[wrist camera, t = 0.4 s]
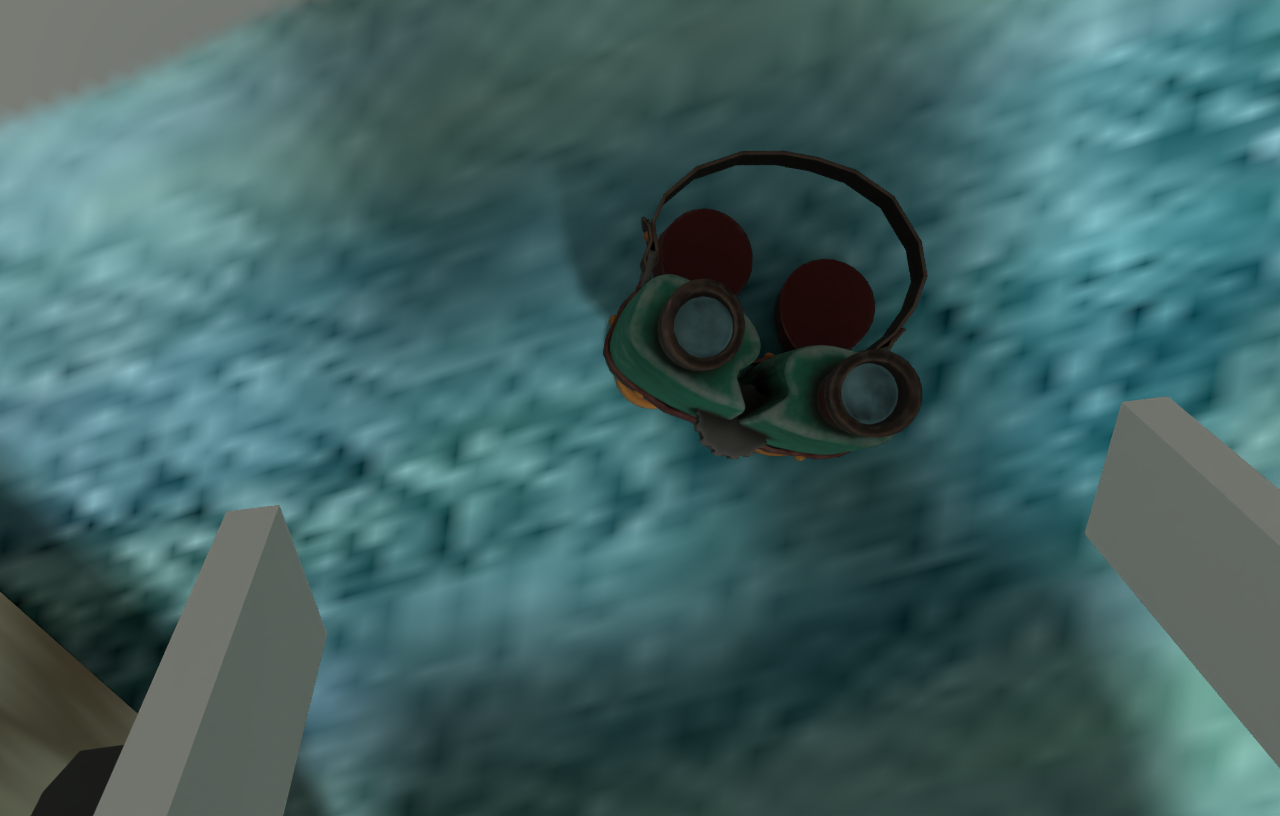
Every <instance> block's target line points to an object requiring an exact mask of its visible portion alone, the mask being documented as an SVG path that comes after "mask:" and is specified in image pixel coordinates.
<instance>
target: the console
mask: <svg viewBox="0 0 1280 816" xmlns="http://www.w3.org/2000/svg"><path fill="white" fill-rule="evenodd" d="M137 715H138V713H136V712H135V711H134V710H133V709H132V708H131V707H130V706H128V705H127V704H126V703H125V702H124V701H123V700H122V699H121V698H119V697H118V696H117V695H116V694H115V693H114V692H113V691H112V690H110V689H109V688H108V687H107V686H106V685H105V684H104V683H103V682H101V681H100V680H99V679H98V678H97V677H96V676H95V675H93V674H92V673H91V672H90V671H89V670H88V669H87V668H86V667H84V666H83V665H82V664H81V663H80V662H79V661H78V660H77V659H75V658H74V657H73V656H72V655H71V654H70V653H69V652H68V651H66V650H65V649H64V648H63V647H62V646H61V645H60V644H58V643H57V642H56V641H55V640H54V639H53V638H52V637H51V636H49V635H48V634H47V633H46V632H45V631H44V630H43V629H42V628H40V627H39V626H38V625H37V624H36V623H35V622H34V621H33V620H31V619H30V618H29V617H28V616H27V615H26V614H25V613H23V612H22V611H21V610H20V609H19V608H18V607H17V606H16V605H14V604H13V603H12V602H11V601H10V600H9V599H8V598H7V597H5V596H4V595H3V594H2V593H1V592H0V816H31V814H32V812H33V810H34V808H35V806H36V804H37V802H38V800H39V798H40V796H41V794H42V792H43V791H44V790H45V789H46V788H47V787H48V786H49V784H50V783H51V782H52V781H53V780H54V779H55V778H56V777H57V776H58V775H59V773H60V772H61V771H62V770H63V769H64V768H65V767H66V766H67V765H68V763H69V762H70V761H71V760H72V759H73V758H74V757H75V756H76V755H77V753H78V752H79V751H81V750H89V749H96V748H103V747H110V746H118V745H124V744H125V742H126V740H127V738H128V735H129V733H130V731H131V729H132V726H133V724H134V722H135V719H136V717H137Z"/></svg>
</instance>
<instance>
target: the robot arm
mask: <svg viewBox="0 0 1280 816" xmlns="http://www.w3.org/2000/svg"><path fill="white" fill-rule="evenodd" d="M1085 535H1086V536H1087V537H1088V539H1089V540H1090V541H1091V542H1092V543H1093V545H1094V546H1095V547H1096V548H1097V549H1098V551H1099V552H1100V553H1101V554H1102V555H1103V557H1104V558H1105V559H1106V560H1107V561H1108V563H1109V564H1110V565H1111V566H1112V567H1113V569H1114V570H1115V571H1116V572H1117V573H1118V575H1119V576H1120V577H1121V578H1122V579H1123V581H1124V582H1125V583H1126V584H1127V585H1128V587H1129V588H1130V589H1131V590H1132V591H1133V593H1134V594H1135V595H1136V596H1137V597H1138V599H1139V600H1140V601H1141V602H1142V603H1143V605H1144V606H1145V607H1146V608H1147V609H1148V611H1149V612H1150V613H1151V614H1152V615H1153V617H1154V618H1155V619H1156V620H1157V621H1158V623H1159V624H1160V625H1161V626H1162V627H1163V629H1164V630H1165V631H1166V632H1167V633H1168V635H1169V636H1170V637H1171V638H1172V639H1173V641H1174V642H1175V643H1176V644H1177V645H1178V647H1179V648H1180V649H1181V650H1182V651H1183V653H1184V654H1185V655H1186V656H1187V657H1188V659H1189V660H1190V661H1191V662H1192V663H1193V665H1194V666H1195V667H1196V668H1197V669H1198V671H1199V672H1200V673H1201V674H1202V675H1203V677H1204V678H1205V679H1206V680H1207V681H1208V683H1209V684H1210V685H1211V686H1212V687H1213V689H1214V690H1215V691H1216V692H1217V693H1218V695H1219V696H1220V697H1221V698H1222V699H1223V701H1224V702H1225V703H1226V704H1227V705H1228V707H1229V708H1230V709H1231V710H1232V711H1233V713H1234V714H1235V715H1236V716H1237V717H1238V719H1239V720H1240V721H1241V722H1242V723H1243V725H1244V726H1245V727H1246V728H1247V729H1248V731H1249V732H1250V733H1251V734H1252V735H1253V737H1254V738H1255V739H1256V740H1257V741H1258V743H1259V744H1260V745H1261V746H1262V747H1263V749H1264V750H1265V751H1266V752H1267V753H1268V755H1269V756H1270V757H1271V758H1272V759H1273V761H1274V762H1275V763H1276V764H1277V765H1278V767H1279V768H1280V490H1279V489H1278V488H1277V487H1276V486H1274V485H1273V484H1272V483H1271V482H1270V481H1268V480H1267V479H1266V478H1265V477H1264V476H1262V475H1261V474H1260V473H1259V472H1258V471H1256V470H1255V469H1254V468H1253V467H1252V466H1250V465H1249V464H1248V463H1247V462H1246V461H1244V460H1243V459H1242V458H1241V457H1240V456H1238V455H1237V454H1236V453H1235V452H1234V451H1232V450H1231V449H1230V448H1229V447H1228V446H1227V445H1225V444H1224V443H1223V442H1222V441H1221V440H1219V439H1218V438H1217V437H1216V436H1215V435H1213V434H1212V433H1211V432H1210V431H1209V430H1207V429H1206V428H1205V427H1204V426H1203V425H1201V424H1200V423H1199V422H1198V421H1197V420H1195V419H1194V418H1193V417H1192V416H1191V415H1189V414H1188V413H1187V412H1186V411H1185V410H1183V409H1182V408H1181V407H1180V406H1179V405H1177V404H1176V403H1175V402H1174V401H1173V400H1172V399H1170V398H1169V397H1160V398H1152V399H1143V400H1135V401H1127V402H1122V404H1121V407H1120V411H1119V414H1118V418H1117V422H1116V425H1115V429H1114V432H1113V436H1112V439H1111V443H1110V446H1109V450H1108V453H1107V457H1106V460H1105V464H1104V467H1103V471H1102V475H1101V478H1100V482H1099V485H1098V489H1097V492H1096V496H1095V499H1094V503H1093V506H1092V510H1091V513H1090V517H1089V520H1088V524H1087V527H1086V531H1085ZM326 637H327V633H326V630H325V627H324V625H323V622H322V619H321V616H320V614H319V611H318V608H317V606H316V603H315V600H314V598H313V595H312V592H311V589H310V587H309V584H308V581H307V579H306V576H305V573H304V571H303V568H302V565H301V562H300V560H299V557H298V554H297V552H296V549H295V546H294V543H293V541H292V538H291V535H290V533H289V530H288V527H287V525H286V522H285V519H284V516H283V514H282V511H281V508H280V506H279V505H276V506H268V507H259V508H251V509H243V510H235V511H227V512H226V514H225V516H224V519H223V521H222V523H221V525H220V528H219V530H218V532H217V535H216V537H215V539H214V541H213V544H212V546H211V548H210V551H209V553H208V555H207V557H206V560H205V562H204V564H203V566H202V569H201V571H200V573H199V576H198V578H197V580H196V582H195V585H194V587H193V589H192V592H191V594H190V596H189V598H188V601H187V603H186V605H185V608H184V610H183V612H182V614H181V617H180V619H179V621H178V624H177V626H176V628H175V630H174V633H173V635H172V637H171V640H170V642H169V644H168V646H167V649H166V651H165V653H164V655H163V658H162V660H161V662H160V665H159V667H158V669H157V671H156V674H155V676H154V678H153V681H152V683H151V685H150V687H149V690H148V692H147V694H146V697H145V699H144V701H143V703H142V706H141V708H140V710H139V713H138V715H137V717H136V719H135V722H134V724H133V726H132V729H131V731H130V733H129V735H128V738H127V740H126V742H125V744H124V745H118V746H110V747H103V748H96V749H89V750H81V751H79V752H78V753H77V755H76V756H75V757H74V758H73V759H72V760H71V761H70V762H69V763H68V765H67V766H66V767H65V768H64V769H63V770H62V771H61V772H60V773H59V775H58V776H57V777H56V778H55V779H54V780H53V781H52V782H51V783H50V784H49V786H48V787H47V788H46V789H45V790H44V791H43V792H42V794H41V796H40V798H39V800H38V802H37V804H36V806H35V808H34V810H33V812H32V814H31V816H283V815H284V811H285V807H286V802H287V798H288V794H289V790H290V786H291V782H292V778H293V773H294V769H295V765H296V761H297V757H298V753H299V748H300V744H301V740H302V736H303V732H304V728H305V724H306V719H307V715H308V711H309V707H310V703H311V699H312V695H313V690H314V686H315V682H316V678H317V674H318V670H319V666H320V661H321V657H322V653H323V649H324V645H325V641H326Z"/></svg>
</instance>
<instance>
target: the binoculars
mask: <svg viewBox="0 0 1280 816" xmlns="http://www.w3.org/2000/svg"><path fill="white" fill-rule="evenodd" d="M736 165H778V166H783V167H789V168H795V169H800V170H806V171H810V172H813V173H816V174H819V175H822V176H825V177H828V178H831V179H834V180H837V181H840V182H843V183H845V184H846V185H848V186H849V187H851V188H852V189H854V190H855V191H856V192H858V193H859V194H861V195H862V196H864V197H865V198H867V199H868V200H870V201H871V202H872V203H874V204H875V205H877V206H878V207H880V208H881V210H882V212H883V213H884V215H885V217H886V218H887V220H888V222H889V223H890V225H891V227H892V228H893V230H894V231H895V233H896V235H897V236H898V238H899V240H900V241H901V243H902V245H903V246H904V248H905V250H906V254H907V260H908V266H909V272H910V278H911V284H910V287H909V289H908V292H907V295H906V298H905V301H904V303H903V306H902V309H901V311H900V313H899V314H898V316H897V317H896V318H895V320H894V321H893V323H892V324H891V325H890V327H889V328H888V330H887V331H886V332H885V334H884V335H883V337H882V338H881V339H879V340H878V341H877V342H875V343H874V344H873V345H871V346H870V347H869V348H868V349H866V350H865V351H860V352H855V351H851V349H852V348H853V347H854V346H855V345H856V344H857V343H858V342H859V341H860V340H861V339H862V338H863V337H864V335H865V334H866V333H867V331H868V330H869V328H870V326H871V324H872V322H873V317H874V313H875V301H874V297H873V292H872V290H871V288H870V286H869V284H868V282H867V281H866V279H865V278H864V277H863V276H862V274H861V273H859V272H858V271H857V270H856V269H854V268H853V267H851V266H850V265H848V264H846V263H844V262H840V261H836V260H831V259H820V260H815V261H811V262H808V263H806V264H804V265H802V266H800V267H799V268H798V269H796V270H795V271H794V272H793V273H792V274H791V275H790V276H789V278H788V279H787V281H786V282H785V284H784V286H783V288H782V290H781V291H780V293H779V295H778V297H777V301H776V304H775V314H774V319H775V326H776V331H777V334H778V337H779V340H780V342H781V344H782V346H783V348H784V350H785V351H786V352H785V353H782V354H778V355H774V354H772V353H767V354H765V355H764V358H761V359H757V357H758V355H759V354H760V348H761V344H760V338H759V335H758V333H757V330H756V328H755V327H754V325H753V324H752V322H751V321H750V320H749V319H748V317H747V316H746V315H745V314H744V312H743V309H742V307H741V304H740V302H739V300H738V299H737V297H736V295H737V294H738V293H739V292H740V291H741V290H742V288H743V287H744V286H745V285H746V283H747V281H748V279H749V277H750V273H751V269H752V256H753V255H752V250H751V245H750V242H749V240H748V238H747V235H746V234H745V232H744V231H743V229H742V228H741V226H740V225H739V224H738V223H737V222H735V221H734V220H733V219H732V218H731V217H729V216H727V215H726V214H724V213H722V212H719V211H716V210H712V209H696V210H692V211H689V212H687V213H684V214H683V215H681V216H680V217H678V218H677V219H676V220H675V221H674V222H673V223H672V224H671V225H670V226H669V227H668V228H667V229H666V230H665V231H664V232H663V233H662V234H661V235H660V237H659V239H658V241H657V234H656V227H655V222H656V219H657V217H658V215H659V213H660V210H661V208H662V206H663V205H664V204H665V203H666V202H667V201H669V200H670V199H671V198H672V197H673V196H674V195H676V194H677V193H678V192H679V191H680V190H682V189H683V188H684V187H685V186H686V185H688V184H689V183H690V182H691V181H692V180H694V179H697V178H700V177H703V176H706V175H709V174H712V173H715V172H718V171H721V170H724V169H727V168H730V167H733V166H736ZM641 222H642V230H643V232H644V238H645V240H646V244H647V249H646V251H645V254H644V256H643V259H642V261H641V263H640V268H641V270H642V271H641V276H640V281H639V284H638V285H637V288H636V291H635V292H633V293H632V294H631V295H630V296H629V297H628V298H627V299H626V300H625V301H624V303H623V304H622V305H621V306H620V308H619V311H618V313H617V315H613V316H611V317H610V319H609V323H610V325H611V328H610V330H609V332H608V334H607V336H606V338H605V343H604V350H603V355H604V357H605V360H606V364H607V366H608V368H609V370H610V372H611V373H612V374H613V375H614V378H615V381H616V384H617V387H618V389H619V390H620V392H621V394H622V395H623V396H624V397H625V398H626V399H627V400H628V401H630V402H631V403H633V404H634V405H637V406H640V407H642V408H648V409H656V408H658V409H660V410H661V411H663V412H665V413H667V414H670V415H673V416H676V417H678V418H681V419H684V420H687V421H689V422H692V423H695V424H694V428H695V431H696V432H698V433H699V435H700V440H699V441H700V442H701V444H702V445H703V446H707V447H708V448H709V449H711V453H712V454H714V455H716V456H722V455H724V456H726V457H727V459H738V458H739V456H743V457H749V456H751V455H753V454H755V453H754V451H755V452H757V453H760V454H763V455H769V456H786V455H789V456H794V458H795V459H796V460H798V461H802V460H804V459H805V458H811V459H826V458H834V457H840V456H842V455H844V454H847V453H849V452H851V451H854V450H860V449H866V448H871V447H876V446H878V445H880V444H883V443H885V442H886V441H888V440H889V439H891V438H892V437H893V436H894V435H895V434H896V433H898V432H900V431H902V430H903V429H904V428H906V427H907V426H908V425H909V424H910V423H911V422H912V421H913V420H914V418H915V417H916V415H917V413H918V411H919V409H920V406H921V401H922V387H921V383H920V379H919V377H918V375H917V373H916V371H915V369H914V368H913V367H912V366H911V365H910V364H909V362H908V361H906V360H905V359H903V358H902V357H901V356H899V355H897V354H895V353H893V352H890V350H891V348H892V346H893V344H894V342H895V341H897V339H898V338H899V337H900V336H901V335H902V333H903V332H905V331H906V329H905V328H902V327H903V325H904V324H905V323H906V321H907V320H908V318H909V317H910V316H911V314H912V313H913V311H914V310H915V308H916V307H917V304H918V301H919V298H920V296H921V293H922V290H923V287H924V284H925V281H926V278H927V270H926V264H925V258H924V252H923V246H922V241H921V240H920V238H919V236H918V235H917V233H916V231H915V230H914V228H913V226H912V225H911V223H910V221H909V220H908V218H907V216H906V215H905V213H904V212H903V210H902V208H901V207H900V205H899V203H898V202H897V200H896V198H895V197H894V196H893V195H892V194H890V193H889V192H887V191H886V190H884V189H883V188H881V187H880V186H879V185H877V184H876V183H874V182H873V181H871V180H870V179H868V178H867V177H866V176H864V175H863V174H861V173H860V172H858V171H857V170H855V169H852V168H849V167H846V166H843V165H840V164H837V163H834V162H831V161H828V160H825V159H822V158H819V157H814V156H809V155H803V154H798V153H792V152H787V151H741V152H738V153H735V154H732V155H729V156H726V157H723V158H720V159H717V160H714V161H711V162H708V163H705V164H702V165H699V166H696V167H695V168H694V169H693V170H692V171H691V172H689V173H688V174H687V175H686V176H685V177H683V178H682V179H681V180H680V181H679V182H677V183H676V184H675V185H674V186H673V187H672V188H670V189H669V190H668V191H667V192H666V193H664V195H663V197H662V199H661V202H660V204H659V206H658V208H657V211H656V213H655V215H654V217H653V220H652V222H651V223H650V221H649V220H648V219H646V218H645V217H642V218H641ZM650 250H651V251H650ZM649 251H650V252H649ZM652 271H653V278H652V279H651V275H652ZM751 365H754V366H752V367H750V368H748V369H747V370H745V371H744V372H743V373H741V375H740V377H739V379H738V380H737V377H738V374H739V372H740V371H742V370H744V369H745V368H747V367H748V366H751Z"/></svg>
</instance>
